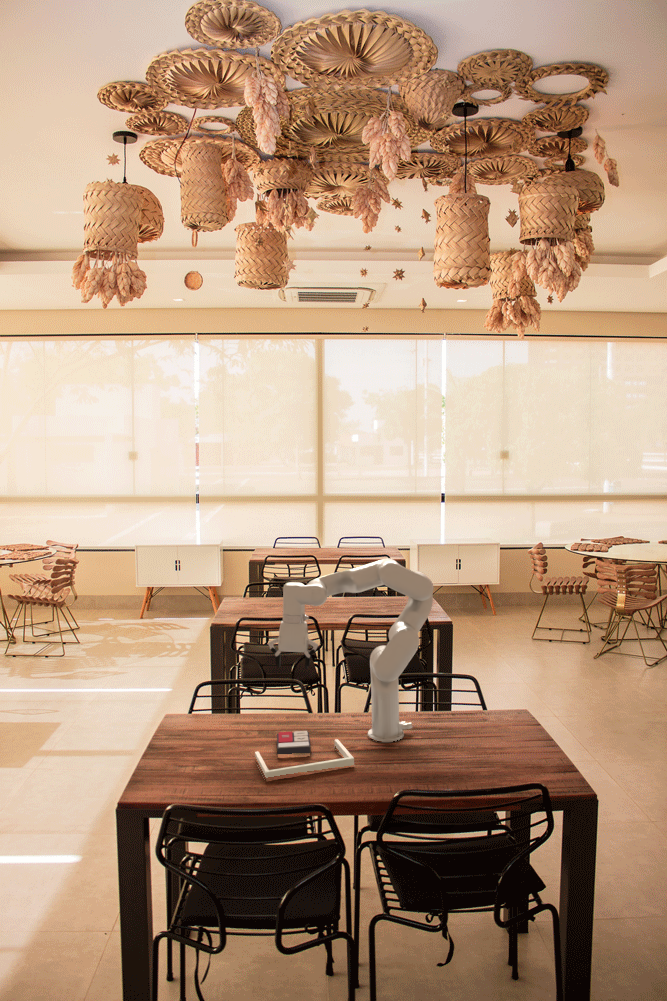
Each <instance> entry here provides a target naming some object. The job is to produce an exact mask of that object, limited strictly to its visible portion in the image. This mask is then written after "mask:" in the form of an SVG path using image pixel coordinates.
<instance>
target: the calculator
mask: <svg viewBox="0 0 667 1001" xmlns="http://www.w3.org/2000/svg"><path fill="white" fill-rule="evenodd" d="M276 751H277V752H276V755H277V754H292V753H311V754H312V750H311V739H310V733H309V731H308V730H296V731H294V730H293V731H280V732H278V733H277V735H276Z"/></svg>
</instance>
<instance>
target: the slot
mask: <svg viewBox="0 0 667 1001" xmlns="http://www.w3.org/2000/svg"><path fill="white" fill-rule="evenodd" d="M333 743H334V747H335V746H336V748H337V749H338V750H339V752H340V753H341V754H342V755H343V757H344V758H342V757H341V758H335V759H330V760H329V759H328V760H325V761H324V760H323V761H318V762H311V763H304V764H299V765H298V764H297V765H294V766H287V767H280V768H275V769H274V768H273V769H269V768H268V767H267V765H266V762H265V761H264V759H263V757H262V755H261V754H260V751H258V750H257V751H255V752H254V758H255V757H256V759H257V761H258V763H259V765H260V767H261V769H262V771H263V773H264V775H265V777H266V778H268V777H274V776H280V775H286V774H294V773H298V772H307V771H314V770H322V769H328V768H335V767H344V766H351V765H354V766H355V757H354V756H353V755H352V754H351V753H350V751H349V750H348V749H347V748H346V747H345V746H344V745H343V743H342V742H341V741H340V740H339V739H338V738H335V739H334V742H333Z"/></svg>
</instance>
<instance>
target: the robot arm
mask: <svg viewBox="0 0 667 1001" xmlns="http://www.w3.org/2000/svg"><path fill="white" fill-rule="evenodd" d="M381 586H386V587H387V588H390V589H391V590H393V591H395V592H398V593H399V594H402V595H404V596H406V597H408V599H407V603H406V604H405V606H404V608H403V609H402V611H401V613H400V614H399V615H398V617H397V619H396V620H395V622H394V623H393V624H392V625H391V627H390V628H389V630H388V636H387V637H388V640H389V641H388V642H387V644H386V645H385V644H384V645H379V646H376V647H374V649H373V650H372V651H371V653H370V657H369V668H370V669H369V670H370V671H369V672H370V685H371V686H370V688H371V689H370V690H371V692H370V693H371V694H370V695H371V728H370V729H369V730H367V737H368V736H369V737H370V738H372V739H374V740H377V741H382V742H381V743H394V742H393V741H395V742H398V741H400V739H401V740H402V739H403V738H404V736H405V732H404V731H405V730H408V729H413V723H412V722H406V721H400V702H399V701H400V698H399V696H400V695H399V694H400V693H399V677H400V676H401V674H402V673H403V672H404V670H405V669H406V668H407V666H408V665H409V663H410V661H411V660H412V659H413V657H414V655H415V654H416V653H417V651H418V649H419V644H420V636H419V632H420V630H421V629H422V627H423V625H424V624H425V622H426V621H427V619H428V618H429V615H430V614H431V611H432V608H433V603H434V602H433V599H434V597H433V593H434V583H433V582H432V579H430V577H428V575H426V574H425V573H424V572H422V571H419V570H415V571H413V570H411V569H409V568H408V567H405V566H403V565H401V564H400V563H399V562H398V561H396V559H393V558H390V557H386V558H381V559H379V560H376V561H372V562H369V563H367V564H364V565H363V564H362V565H361V566H358V567H354V568H350V569H345V570H342V571H341V570H340V571H338V572H333V573H329V574H326V575H323V576H319V577H317V578H314V579H312V580H310V581H309V582H308V583H307V584H306V585H305V584H304V583H302V582H299V581H290V582H286V583H285V584H283V590H282V591H283V592H282V594H283V595H282V604H283V605H282V620H281V622H280V625H279V630H278V637H277V638H274V639H273V640H271V641H269V642H268V643H267V645H268V647H269V649H270V651H271V652H272V653H273V655H274V656H275V665H276V666H277V668H278V669H279V668H281V664H282V659H281V658H282V656H281V653H282V652H290V653H291V652H293V653H303V654H304V655H305V659H304V669H305V670H308V668H309V667H310V666H311V657H312V655H314V654H315V652H316V651H317V649H318V647H319V643H317V642H315V641H313V640H311V639H309V627H308V622H307V621H308V620H309V619H310V616H309V615H307V614H306V613H305V612H306V611H305V609H306V606H314V607H319V606H322V605H323V604H325V603H326V602H327V600H328V597H332V596H334V595H337V594H342V593H351V594H356V593H357V594H359V593H362V592H365V591H369V590H371V589H374V588H377V587H381ZM275 644H277V647H278V649H277V648H275V646H274V645H275ZM309 645H310V646H311V647H312V649H310V650H309V649H308V648H309ZM369 737H368V738H369ZM370 738H369V739H370ZM374 740H373V741H374ZM397 740H398V741H397ZM377 741H376V742H377Z"/></svg>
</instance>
